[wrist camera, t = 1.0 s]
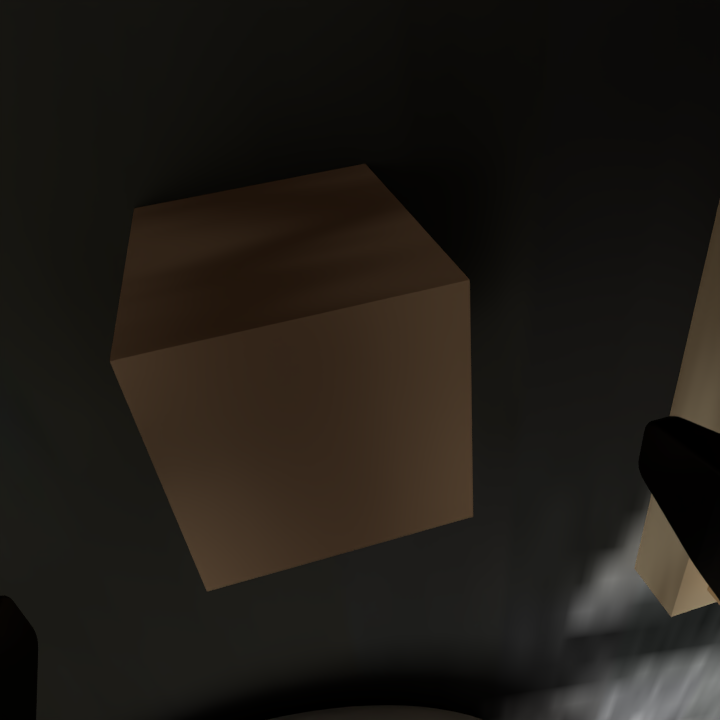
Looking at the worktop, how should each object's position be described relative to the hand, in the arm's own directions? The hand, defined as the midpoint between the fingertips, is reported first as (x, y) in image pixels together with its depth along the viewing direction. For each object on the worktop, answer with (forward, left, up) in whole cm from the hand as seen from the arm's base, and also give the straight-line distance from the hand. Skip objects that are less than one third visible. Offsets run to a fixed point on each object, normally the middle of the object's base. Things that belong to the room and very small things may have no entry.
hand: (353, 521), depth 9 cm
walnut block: (0, 0, -8) cm, 8 cm away
